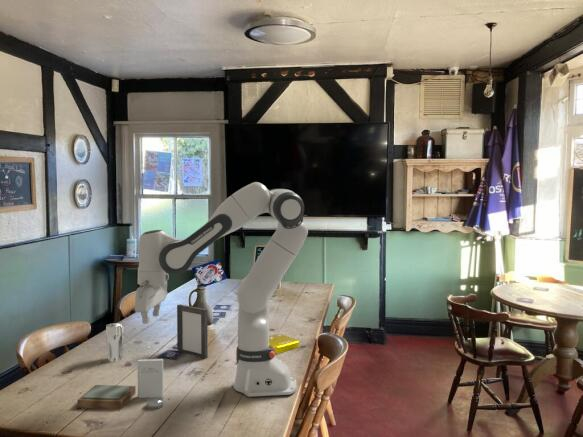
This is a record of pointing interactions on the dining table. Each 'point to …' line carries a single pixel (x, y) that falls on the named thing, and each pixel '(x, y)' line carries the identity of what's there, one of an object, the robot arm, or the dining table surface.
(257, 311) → the robot arm
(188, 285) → the dining table surface
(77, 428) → the dining table surface
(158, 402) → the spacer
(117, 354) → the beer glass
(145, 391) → the external hard drive
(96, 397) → the mirror
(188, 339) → the picture frame
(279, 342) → the element tile
